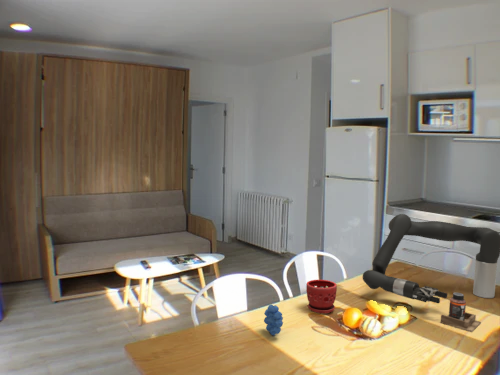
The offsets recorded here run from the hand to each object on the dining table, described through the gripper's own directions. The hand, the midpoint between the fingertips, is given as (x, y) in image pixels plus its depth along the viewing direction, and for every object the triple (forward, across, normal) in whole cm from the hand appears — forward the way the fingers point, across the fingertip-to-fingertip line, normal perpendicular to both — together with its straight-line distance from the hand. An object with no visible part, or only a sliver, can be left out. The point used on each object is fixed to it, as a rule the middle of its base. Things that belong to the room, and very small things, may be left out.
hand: (443, 298), depth 174 cm
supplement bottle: (+6, 0, +8) cm, 10 cm away
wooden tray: (+7, 0, +8) cm, 11 cm away
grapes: (-39, -64, +9) cm, 75 cm away
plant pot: (-41, -31, +9) cm, 52 cm away
